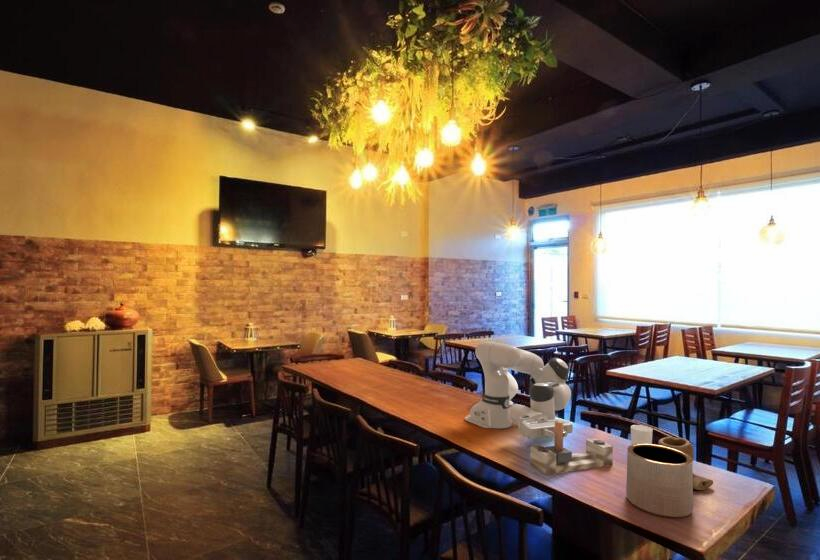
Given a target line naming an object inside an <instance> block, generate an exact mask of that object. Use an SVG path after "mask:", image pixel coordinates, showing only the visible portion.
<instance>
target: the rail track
mask: <svg viewBox="0 0 820 560" xmlns="http://www.w3.org/2000/svg"><path fill="white" fill-rule="evenodd" d="M546 447H547V446H543V445H541V444H538V445H531V446H530V451H529V452H530V454H529V455H530V457H529V458H530V459H529V460H530V461H529V462H530V463H529V465H530V467H532V468H534V469H535V470H537V471H538V472H539V473H541V474H543V475H544V476H550V475H555V474H556V475H558V474H563V473H562V472H564V473H569V472H568V471H571V472H575V471H574V470H578V471H583V470H582V469H584V470H590V469H589V468H591V469H597V468H603V467H602V466H604V467H608V466H607V465H611V466H613V463H614V462H613V461H614V460H613V458H614V446H613V445H611V444H608V443H606V442H605V440H604V441H603V440H600V439H598V438H588V439H585V452H579V453H577V452H576V453H572V460H570V462H569V463H562V464H556V454H555V453H554V452H552V451H550V450H549V449H548V448H546ZM596 467H597V468H596ZM557 473H558V474H557Z"/></svg>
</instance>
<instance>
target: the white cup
mask: <svg viewBox="0 0 820 560" xmlns="http://www.w3.org/2000/svg"><path fill="white" fill-rule="evenodd" d="M653 430H654V429H653V428H651V427H650V426H646V425H641V424H632V425H630V443H631V445H633V444H653V433H654V432H653Z"/></svg>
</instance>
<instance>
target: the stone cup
mask: <svg viewBox="0 0 820 560" xmlns="http://www.w3.org/2000/svg"><path fill="white" fill-rule="evenodd" d="M657 445H661V446H666V447H670V448H673V449H676V450H679V451H681V452H684V453H686V454H687V455H689V456H690V457H691V458H692V460H693V461H694V457H695V453H694V451H695V450H694V447H693V445H692V443H691V441H689V440H688V439H686V438H684V437H673V436H665V437H662V438H660V439H659V440H658V442H657ZM713 484H714V480H712V479H709V478H707V477H704V476H700V475H697V474H694V473H693V490H697V491H704V490H707V489H709V488H711V486H712V485H713Z"/></svg>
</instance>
